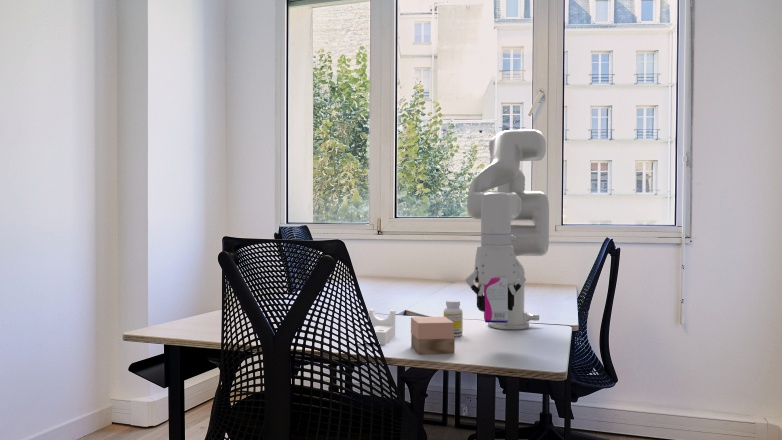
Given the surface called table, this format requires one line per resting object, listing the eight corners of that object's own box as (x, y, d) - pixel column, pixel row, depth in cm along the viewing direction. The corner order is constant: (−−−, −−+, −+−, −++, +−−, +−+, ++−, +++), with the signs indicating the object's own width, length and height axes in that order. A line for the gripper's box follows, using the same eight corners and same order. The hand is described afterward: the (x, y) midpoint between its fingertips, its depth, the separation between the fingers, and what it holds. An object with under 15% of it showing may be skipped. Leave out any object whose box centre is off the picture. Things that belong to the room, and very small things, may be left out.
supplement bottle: (448, 332, 178) (448, 299, 178) (465, 334, 175) (465, 300, 175) (440, 335, 174) (440, 301, 174) (457, 337, 171) (457, 302, 171)
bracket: (370, 335, 174) (371, 309, 174) (395, 336, 172) (395, 310, 172) (359, 344, 161) (359, 316, 161) (385, 345, 160) (385, 317, 160)
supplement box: (505, 318, 158) (506, 274, 158) (507, 323, 152) (508, 277, 152) (483, 318, 159) (483, 274, 158) (484, 322, 153) (484, 277, 153)
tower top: (444, 331, 159) (444, 316, 159) (453, 338, 150) (453, 322, 150) (410, 332, 158) (410, 317, 158) (418, 339, 149) (418, 323, 149)
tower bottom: (444, 347, 159) (444, 332, 159) (454, 354, 150) (454, 338, 150) (411, 348, 157) (411, 332, 157) (418, 355, 149) (419, 339, 149)
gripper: (522, 239, 160) (521, 306, 161) (458, 240, 157) (458, 308, 158) (533, 241, 153) (533, 311, 153) (467, 242, 150) (467, 314, 150)
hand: (495, 309), depth 156 cm, fingers closed on supplement box, 6 cm apart
